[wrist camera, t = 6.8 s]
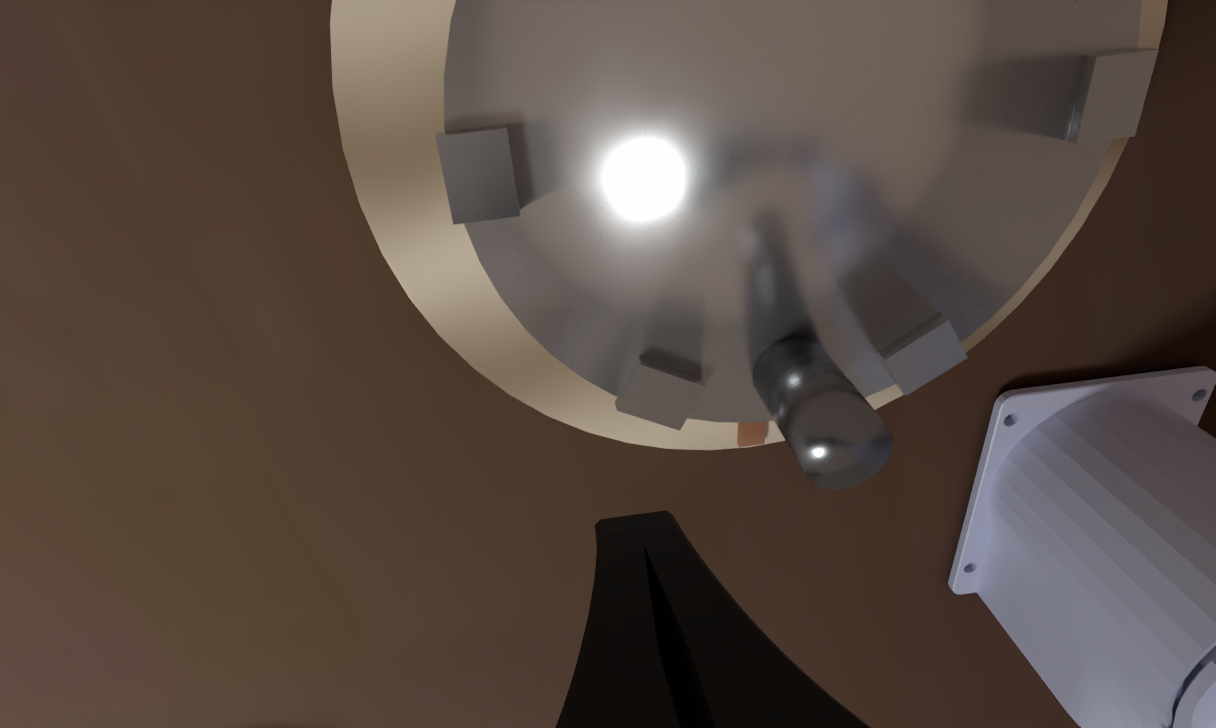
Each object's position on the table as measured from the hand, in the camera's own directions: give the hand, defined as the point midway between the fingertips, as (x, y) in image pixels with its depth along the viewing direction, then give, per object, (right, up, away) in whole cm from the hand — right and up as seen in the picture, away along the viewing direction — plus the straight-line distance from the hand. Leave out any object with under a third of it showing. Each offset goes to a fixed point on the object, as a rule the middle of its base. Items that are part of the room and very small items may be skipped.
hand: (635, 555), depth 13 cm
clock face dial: (+3, +9, +4) cm, 11 cm away
